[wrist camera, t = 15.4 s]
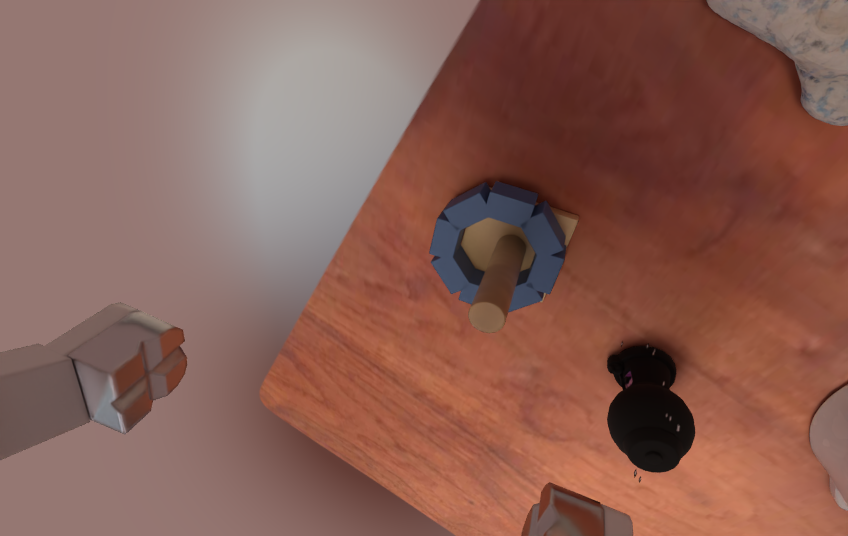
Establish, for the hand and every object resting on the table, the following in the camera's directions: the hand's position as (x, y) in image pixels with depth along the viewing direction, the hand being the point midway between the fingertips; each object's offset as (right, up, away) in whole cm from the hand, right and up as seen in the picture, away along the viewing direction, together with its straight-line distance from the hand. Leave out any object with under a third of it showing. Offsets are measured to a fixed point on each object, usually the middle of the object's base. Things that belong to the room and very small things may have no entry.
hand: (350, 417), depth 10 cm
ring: (+8, +5, +28) cm, 30 cm away
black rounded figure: (+21, -5, +31) cm, 37 cm away
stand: (+9, +5, +29) cm, 31 cm away
